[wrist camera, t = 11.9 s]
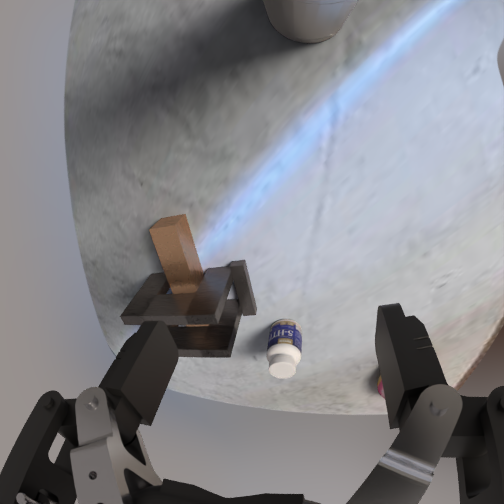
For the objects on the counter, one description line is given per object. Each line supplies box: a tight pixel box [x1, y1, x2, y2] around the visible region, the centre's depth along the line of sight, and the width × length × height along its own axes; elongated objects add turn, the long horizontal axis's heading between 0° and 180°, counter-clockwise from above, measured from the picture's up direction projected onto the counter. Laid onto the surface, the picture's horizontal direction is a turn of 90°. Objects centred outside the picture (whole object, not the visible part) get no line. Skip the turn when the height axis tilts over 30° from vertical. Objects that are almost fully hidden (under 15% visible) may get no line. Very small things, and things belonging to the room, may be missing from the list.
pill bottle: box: [267, 319, 302, 378], centre depth 43 cm, size 5×5×9 cm
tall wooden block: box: [149, 214, 209, 326], centre depth 42 cm, size 19×4×4 cm, turn 11°
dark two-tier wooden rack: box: [120, 260, 257, 357], centre depth 41 cm, size 9×19×11 cm, turn 101°
